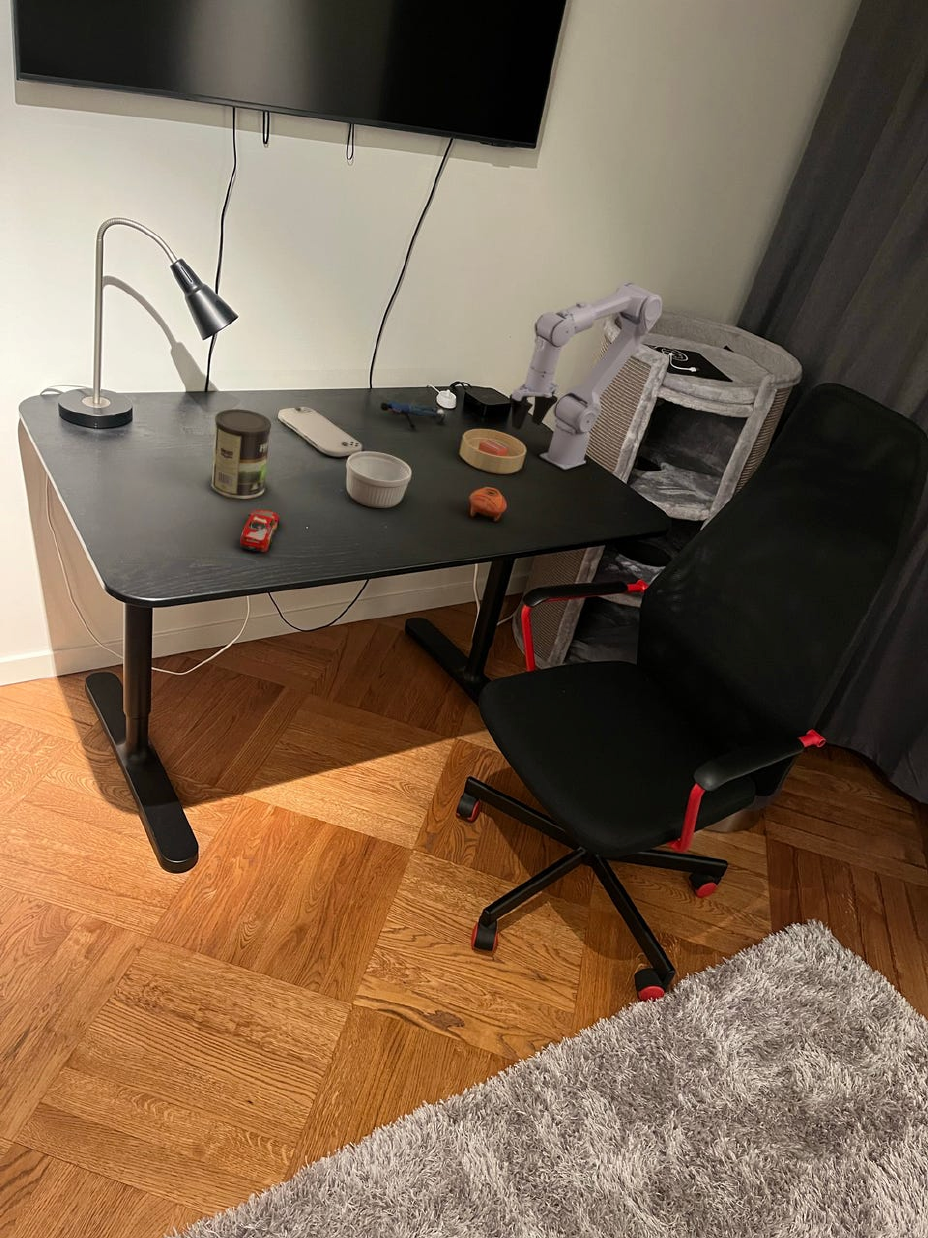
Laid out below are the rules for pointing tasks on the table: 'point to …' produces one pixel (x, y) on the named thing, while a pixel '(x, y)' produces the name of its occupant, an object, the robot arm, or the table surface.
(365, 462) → the ramekin
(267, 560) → the table surface
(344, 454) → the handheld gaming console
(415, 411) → the person figurine
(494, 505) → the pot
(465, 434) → the bowl
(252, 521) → the race car
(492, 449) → the orange-red block
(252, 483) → the coffee can
